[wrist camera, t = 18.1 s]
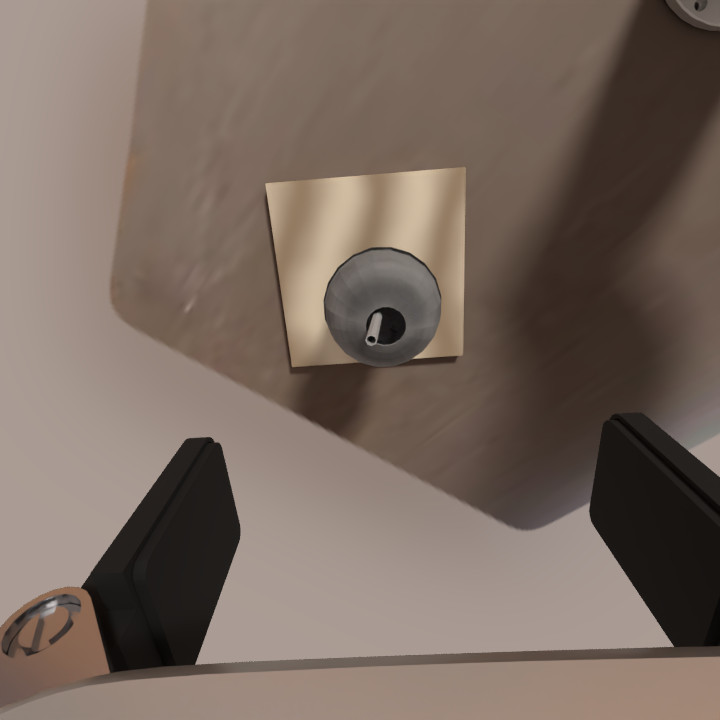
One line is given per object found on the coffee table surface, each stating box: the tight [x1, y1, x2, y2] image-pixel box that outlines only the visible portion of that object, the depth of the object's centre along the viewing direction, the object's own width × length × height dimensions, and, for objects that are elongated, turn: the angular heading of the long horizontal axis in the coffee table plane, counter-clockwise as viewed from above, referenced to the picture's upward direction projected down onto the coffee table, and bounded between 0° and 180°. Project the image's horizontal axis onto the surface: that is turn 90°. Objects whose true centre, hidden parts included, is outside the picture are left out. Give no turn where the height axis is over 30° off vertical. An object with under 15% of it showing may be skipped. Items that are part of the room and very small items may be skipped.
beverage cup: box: [323, 247, 441, 367], centre depth 28 cm, size 7×7×20 cm
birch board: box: [266, 167, 466, 367], centre depth 37 cm, size 16×16×1 cm
